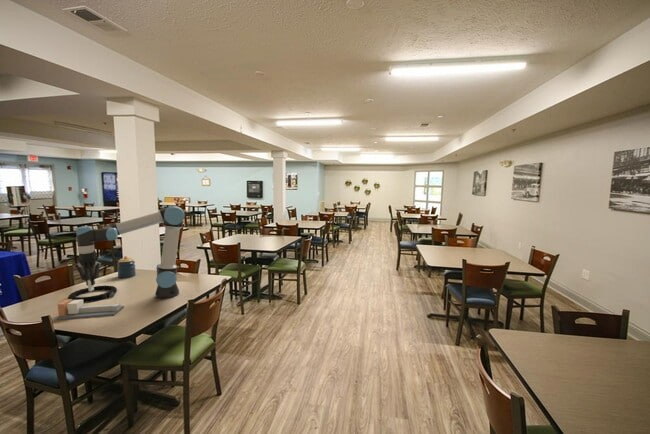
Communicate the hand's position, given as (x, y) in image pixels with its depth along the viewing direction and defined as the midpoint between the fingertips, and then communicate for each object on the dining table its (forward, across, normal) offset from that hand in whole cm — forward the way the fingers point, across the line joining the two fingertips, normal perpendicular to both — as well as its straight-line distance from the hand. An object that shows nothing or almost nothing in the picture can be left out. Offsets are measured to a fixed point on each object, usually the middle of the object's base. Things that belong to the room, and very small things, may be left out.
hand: (91, 290), depth 178 cm
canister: (+15, +15, -80) cm, 82 cm away
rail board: (+14, +1, 0) cm, 14 cm away
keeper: (+13, +9, 0) cm, 15 cm away
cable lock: (+15, +16, -33) cm, 39 cm away
